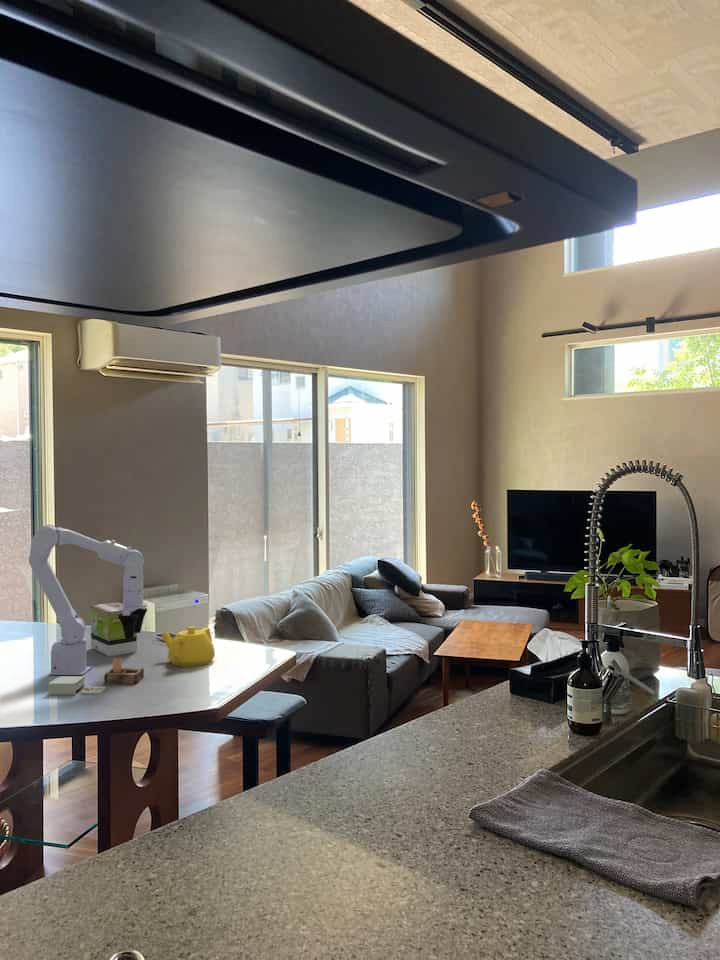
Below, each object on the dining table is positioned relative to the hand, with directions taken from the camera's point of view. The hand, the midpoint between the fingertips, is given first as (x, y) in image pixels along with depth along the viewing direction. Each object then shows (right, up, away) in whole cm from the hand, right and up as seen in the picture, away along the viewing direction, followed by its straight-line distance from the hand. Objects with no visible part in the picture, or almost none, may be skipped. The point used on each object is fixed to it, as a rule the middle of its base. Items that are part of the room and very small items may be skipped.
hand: (133, 635), depth 228 cm
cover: (-10, -10, -25) cm, 28 cm away
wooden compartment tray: (+2, -10, -13) cm, 17 cm away
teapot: (+14, -10, +9) cm, 20 cm away
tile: (-3, -10, -24) cm, 27 cm away
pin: (0, -10, -13) cm, 17 cm away
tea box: (-13, -10, +23) cm, 28 cm away
